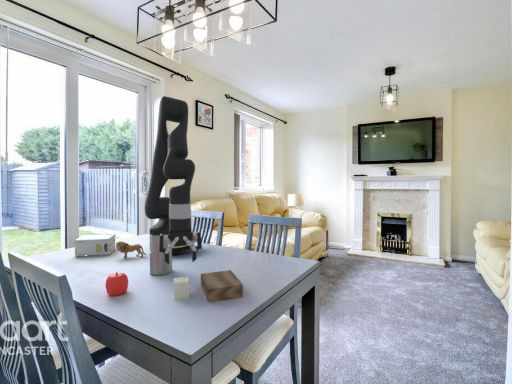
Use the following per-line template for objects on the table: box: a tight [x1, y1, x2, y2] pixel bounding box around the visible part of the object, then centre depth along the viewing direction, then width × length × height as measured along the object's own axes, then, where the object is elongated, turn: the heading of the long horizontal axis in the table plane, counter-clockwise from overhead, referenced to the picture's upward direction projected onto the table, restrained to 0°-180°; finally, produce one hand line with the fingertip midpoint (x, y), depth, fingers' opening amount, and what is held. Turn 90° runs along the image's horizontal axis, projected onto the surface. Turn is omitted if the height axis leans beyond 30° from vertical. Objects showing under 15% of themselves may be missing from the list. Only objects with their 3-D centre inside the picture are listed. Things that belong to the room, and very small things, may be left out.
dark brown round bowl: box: [172, 236, 197, 256], centre depth 157 cm, size 25×25×9 cm
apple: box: [105, 271, 129, 297], centre depth 101 cm, size 8×8×8 cm
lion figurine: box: [115, 241, 147, 259], centre depth 146 cm, size 15×5×9 cm, turn 114°
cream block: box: [173, 276, 190, 301], centre depth 98 cm, size 5×5×6 cm
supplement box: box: [74, 233, 116, 257], centre depth 155 cm, size 17×13×9 cm
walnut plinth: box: [200, 269, 244, 304], centre depth 102 cm, size 12×16×5 cm
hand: (181, 262), depth 97 cm, fingers open, 8 cm apart
